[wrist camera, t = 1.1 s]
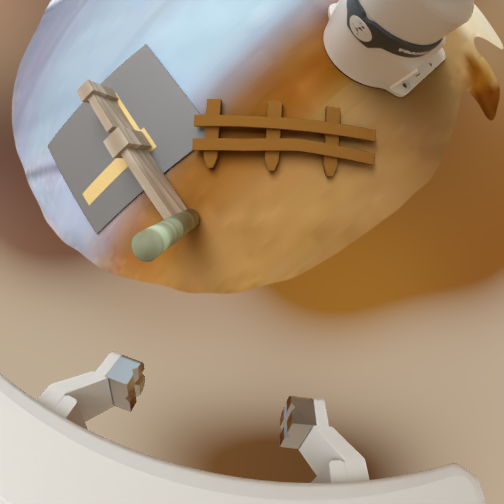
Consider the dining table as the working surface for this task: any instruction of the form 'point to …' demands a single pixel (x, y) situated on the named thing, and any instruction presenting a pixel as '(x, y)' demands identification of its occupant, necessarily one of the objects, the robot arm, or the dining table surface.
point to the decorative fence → (273, 140)
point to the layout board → (142, 119)
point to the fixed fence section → (104, 105)
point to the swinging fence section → (152, 194)
